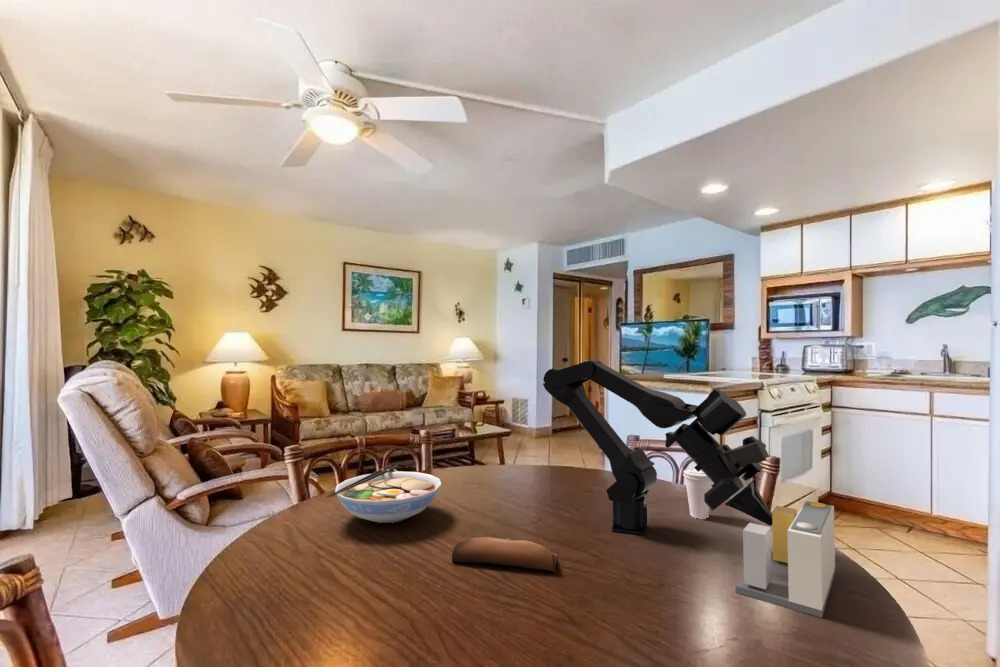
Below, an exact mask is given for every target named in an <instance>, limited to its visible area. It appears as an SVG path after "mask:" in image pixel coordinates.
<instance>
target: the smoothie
mask: <svg viewBox="0 0 1000 667" xmlns="http://www.w3.org/2000/svg"><path fill="white" fill-rule="evenodd" d="M682 475H683V477H685V478H684V479H685V486H686V495H687V500H688V501H687V502H688V506H689V507H688V508H689V515H691V516H692V517H691V516H690V517H691V518H693V517H694V518H693V519H696V518H698V519H697V520H707V519H706V518H708V519H709V516H710V507H709V506H708V505H707V504H706V503H705V502H704V494H705V493H706V492H707V491H709V490H710V489H711V488H712V487H711V485H713V484H714V483H713V482H712V481H711V480H710V479H709V478H708V477H707V476H706V474H705V473H704V472H703V471H702V470H700V471H699V472H698V471H697V470H696V469H695V468H686V469H684V470H683V474H682Z"/></svg>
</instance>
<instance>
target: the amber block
mask: <svg viewBox="0 0 1000 667" xmlns="http://www.w3.org/2000/svg"><path fill="white" fill-rule="evenodd" d="M771 514H772V524H773V525H772V552H773V560H777V561H781V562H785V563H788V534H787V530H788V529H789V527H790V526H791V524H792V522H793V521H794V519H795V518H796V516H797V514H798V509H797V508H792V507H786V506H781V505H776V507H774V508H773V510H772V513H771Z"/></svg>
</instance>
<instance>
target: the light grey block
mask: <svg viewBox="0 0 1000 667" xmlns="http://www.w3.org/2000/svg"><path fill="white" fill-rule="evenodd" d="M771 528H772V527H771V526H768V525H763V524H757V523H754V522H748V524H747V525H746V526H745V527H744V529H742V540H743V541H742V542H743V544H742V545H743V548H742V550H743V551H742V552H743V554H742V555H743V557H742V558H743V575H744V584H748V585H751V586H755V587H759V588H762V589H767V587H768V585H769V583H770V581H771V580H772V576H771V552H772V534H771V533H772V531H771V530H772V529H771Z"/></svg>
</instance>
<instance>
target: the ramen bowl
mask: <svg viewBox="0 0 1000 667" xmlns="http://www.w3.org/2000/svg"><path fill="white" fill-rule="evenodd" d="M398 467H399V465H397V464H396V465H393V466H392V464H388V465H386V466H383V467H382V468H380V469H378V470H376V471H374V472H372V473H369V474H368V473H367V474H362V475H358V476H355V477H351V478H349V479H348V478H347V479H345V480H343V481H342V482H340V483H339V484H337V485H336V487H335V490H334V492H333V493H331V494H329V495H326V498H333V497H334V496H336V497H337V498H338V500H339V502H340V503H341V505H343V507H345V509H346V510H347V511H348V512H349V513H351V514H353V516H355V517H357V518H359V519H363V520H366V521H371V522H374V523H375V522H377V523H376V524H379V523H392V524H396V523H395V522H397V523H400V522H399V521H401V522H402V520H403V521H405V520H407V519H408V518H411V517H413V516H416V515H417V514H419V513H421V512H423V511H424V510H425V509H427V508H428V506H429V505H430V504H431V502H432V501H433V500H434V499H435V497H436V496H437V494H438V493H439V491H440V489H441V486H442V484H443V483H442V482H441V479H440V478H439V477H437V476H435V475H432V474H429V473H424V472H419V471H418V472H417V471H398V470H397V469H398ZM395 470H397V471H395ZM404 519H405V520H404Z"/></svg>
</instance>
